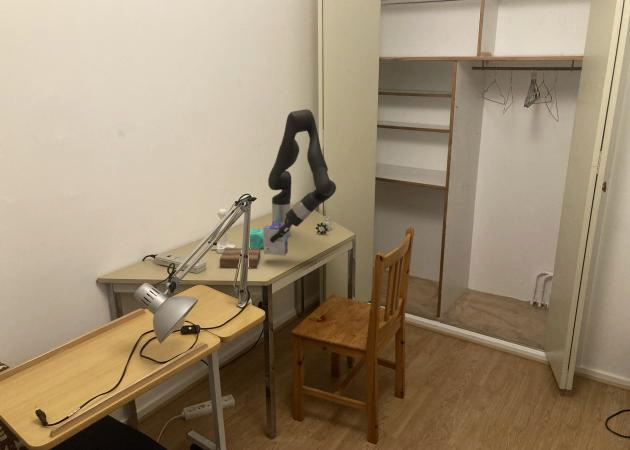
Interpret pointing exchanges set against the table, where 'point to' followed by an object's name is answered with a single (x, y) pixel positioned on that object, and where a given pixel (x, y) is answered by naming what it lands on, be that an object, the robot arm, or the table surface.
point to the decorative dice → (256, 239)
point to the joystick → (223, 240)
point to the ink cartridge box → (279, 245)
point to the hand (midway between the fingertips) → (271, 238)
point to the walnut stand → (233, 254)
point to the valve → (325, 225)
